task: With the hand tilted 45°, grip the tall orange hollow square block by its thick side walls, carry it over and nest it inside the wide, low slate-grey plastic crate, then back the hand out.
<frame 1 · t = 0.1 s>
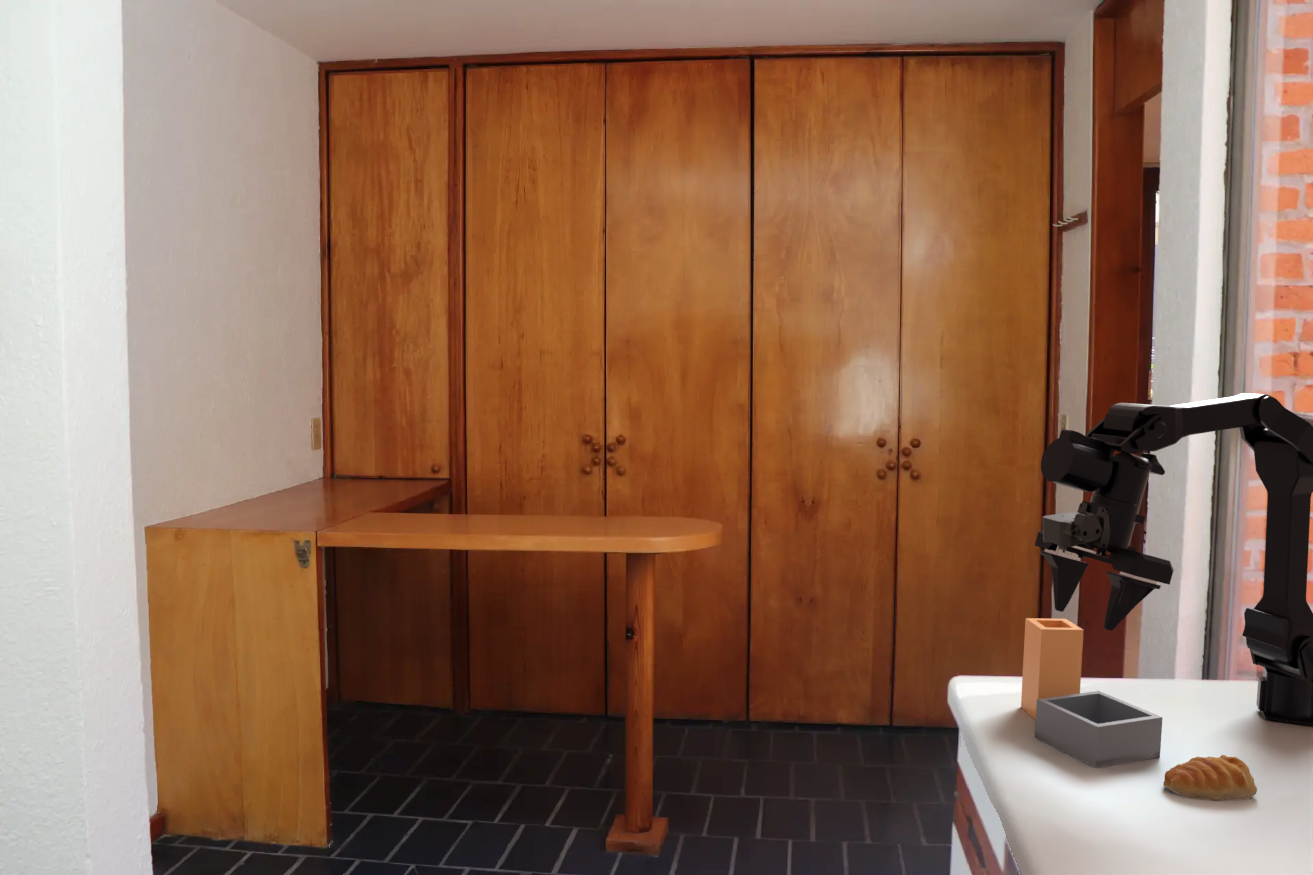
hand: (1082, 620, 131), 15 cm above the counter, tool pointing down, fingers open, 9 cm apart
grey crate: (1095, 746, 130), on the counter
orange hollow square block: (1049, 713, 141), on the counter
pastry: (1210, 793, 118), on the counter
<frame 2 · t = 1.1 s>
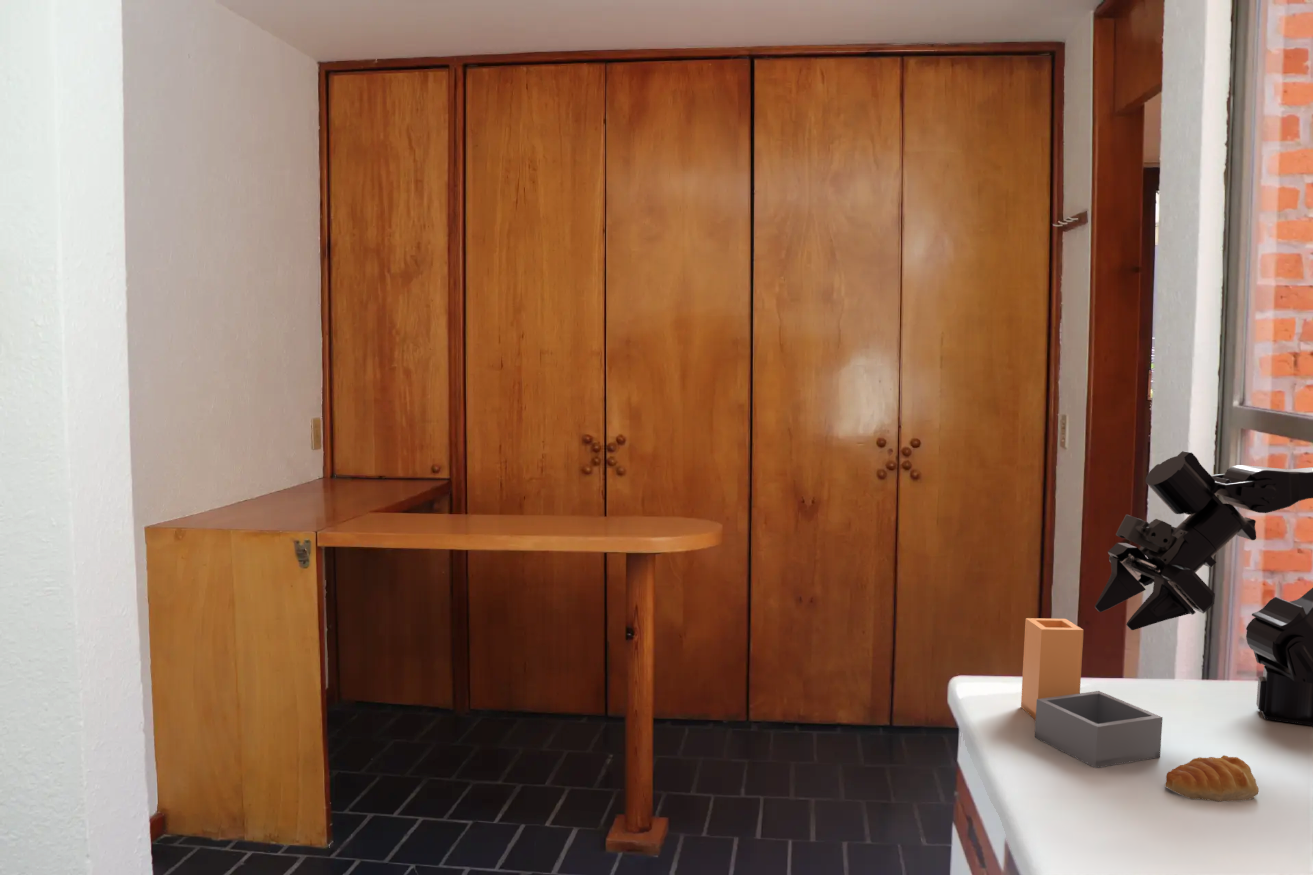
hand: (1112, 618, 140), 13 cm above the counter, tool tilted 45°, fingers open, 9 cm apart
nothing on the counter moved.
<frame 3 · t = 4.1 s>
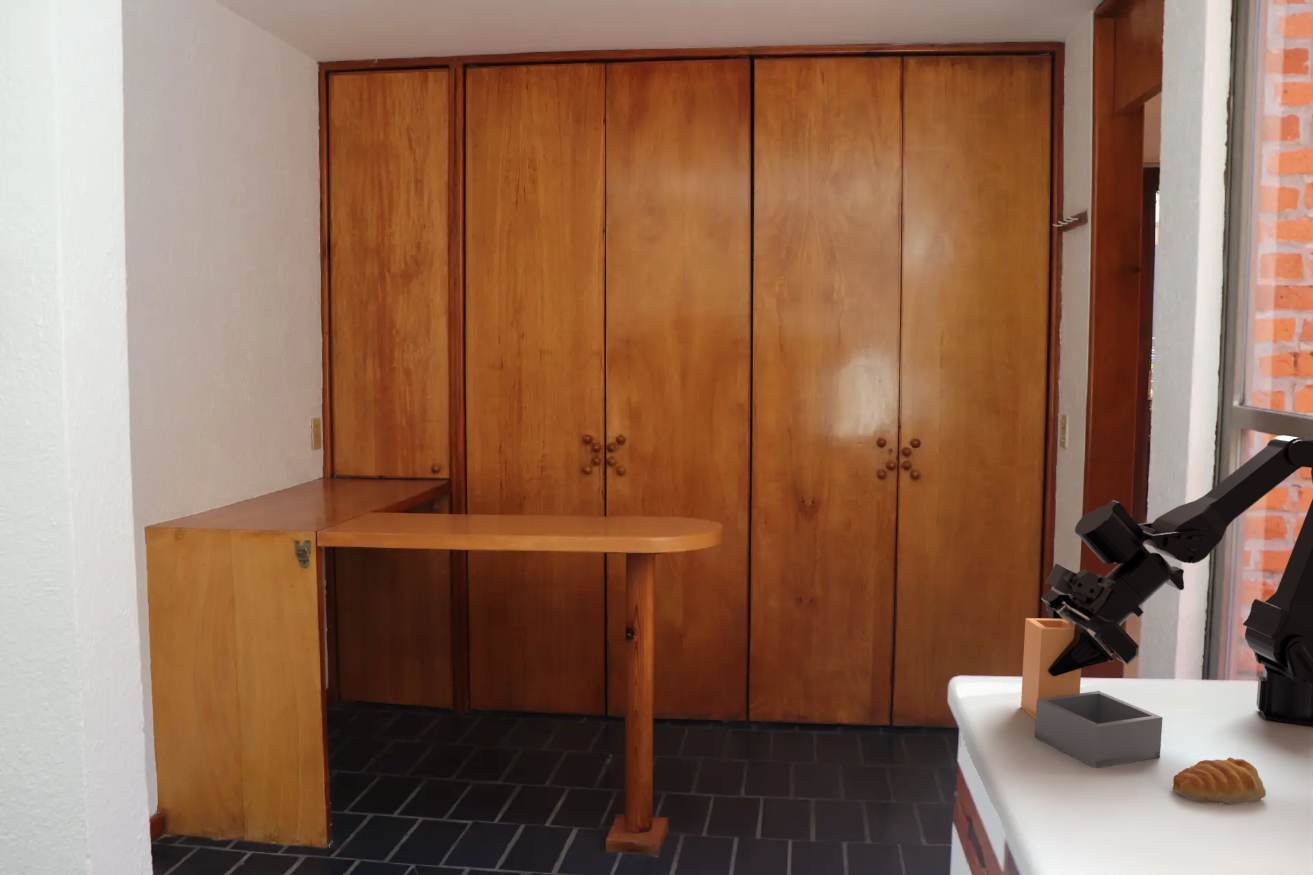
hand: (1041, 666, 141), 7 cm above the counter, tool tilted 45°, fingers closed on orange hollow square block, 6 cm apart
orange hollow square block: (1049, 713, 141), on the counter, touching gripper
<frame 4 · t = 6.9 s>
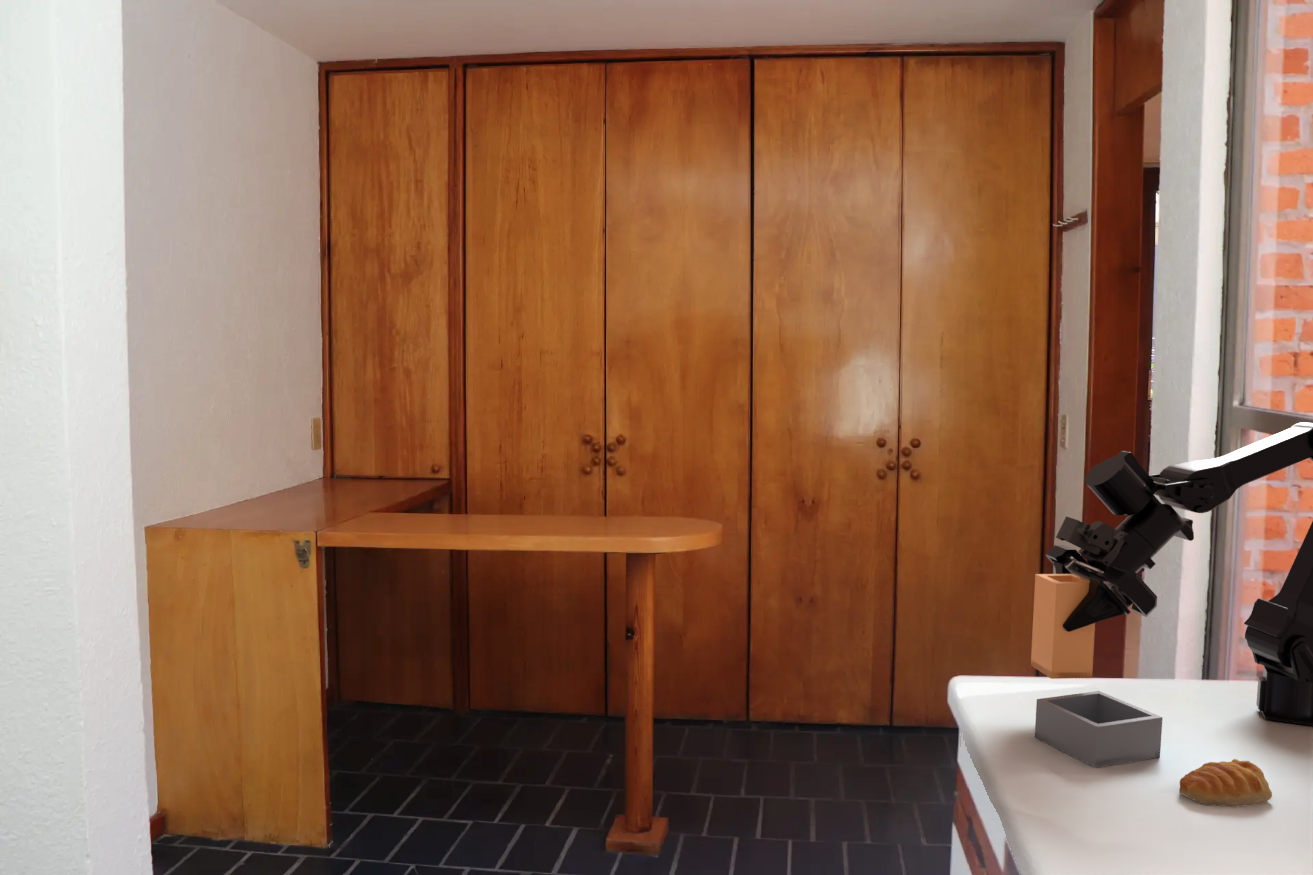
hand: (1053, 622, 137), 13 cm above the counter, tool tilted 45°, fingers closed on orange hollow square block, 6 cm apart
orange hollow square block: (1060, 671, 138), point 7 cm above the counter, touching gripper
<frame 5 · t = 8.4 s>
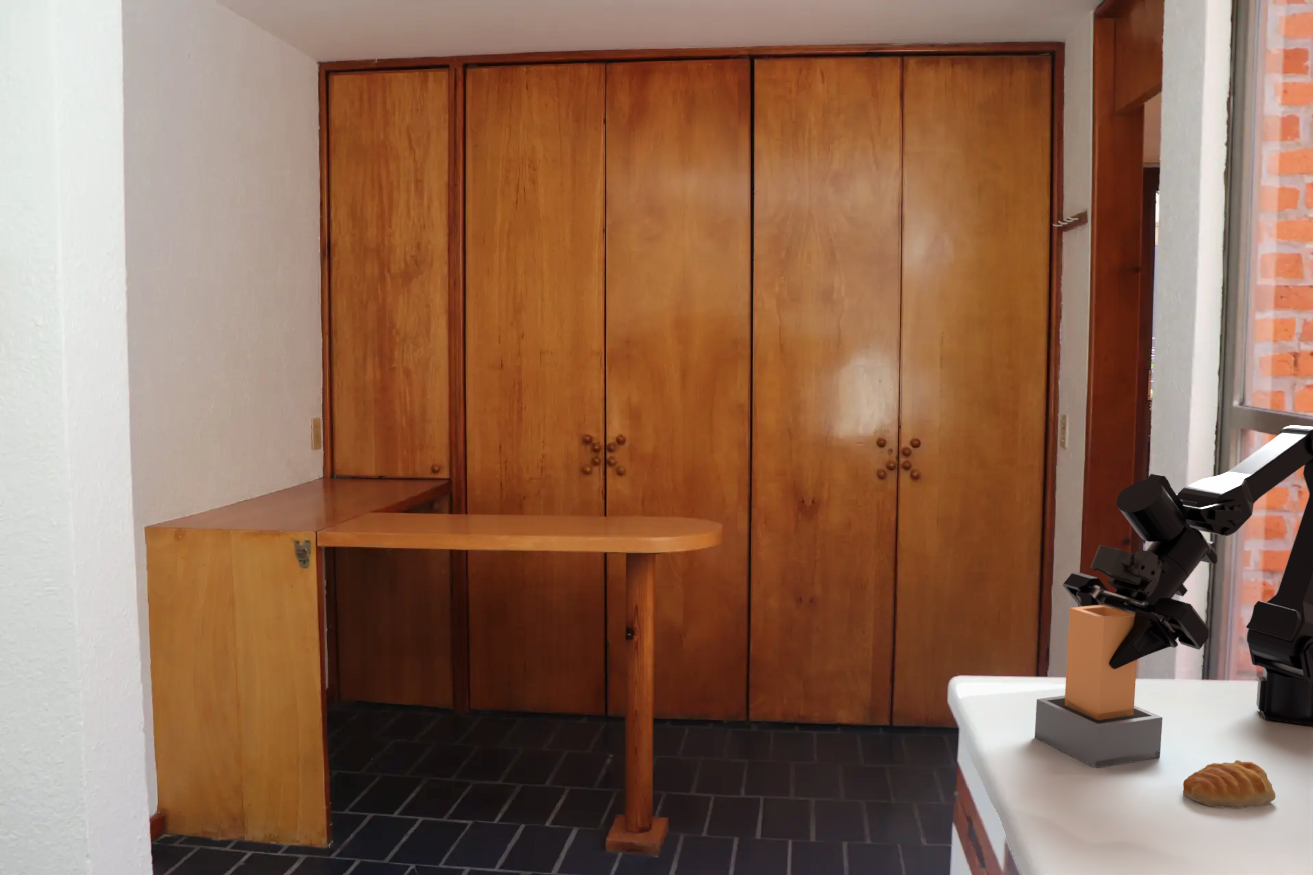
hand: (1092, 659, 129), 11 cm above the counter, tool tilted 45°, fingers closed on orange hollow square block, 6 cm apart
orange hollow square block: (1098, 709, 130), point 5 cm above the counter, touching gripper
when the fingers open (9 cm above the counter, at t = 9.7 s): orange hollow square block drops 1 cm, resting on grey crate.
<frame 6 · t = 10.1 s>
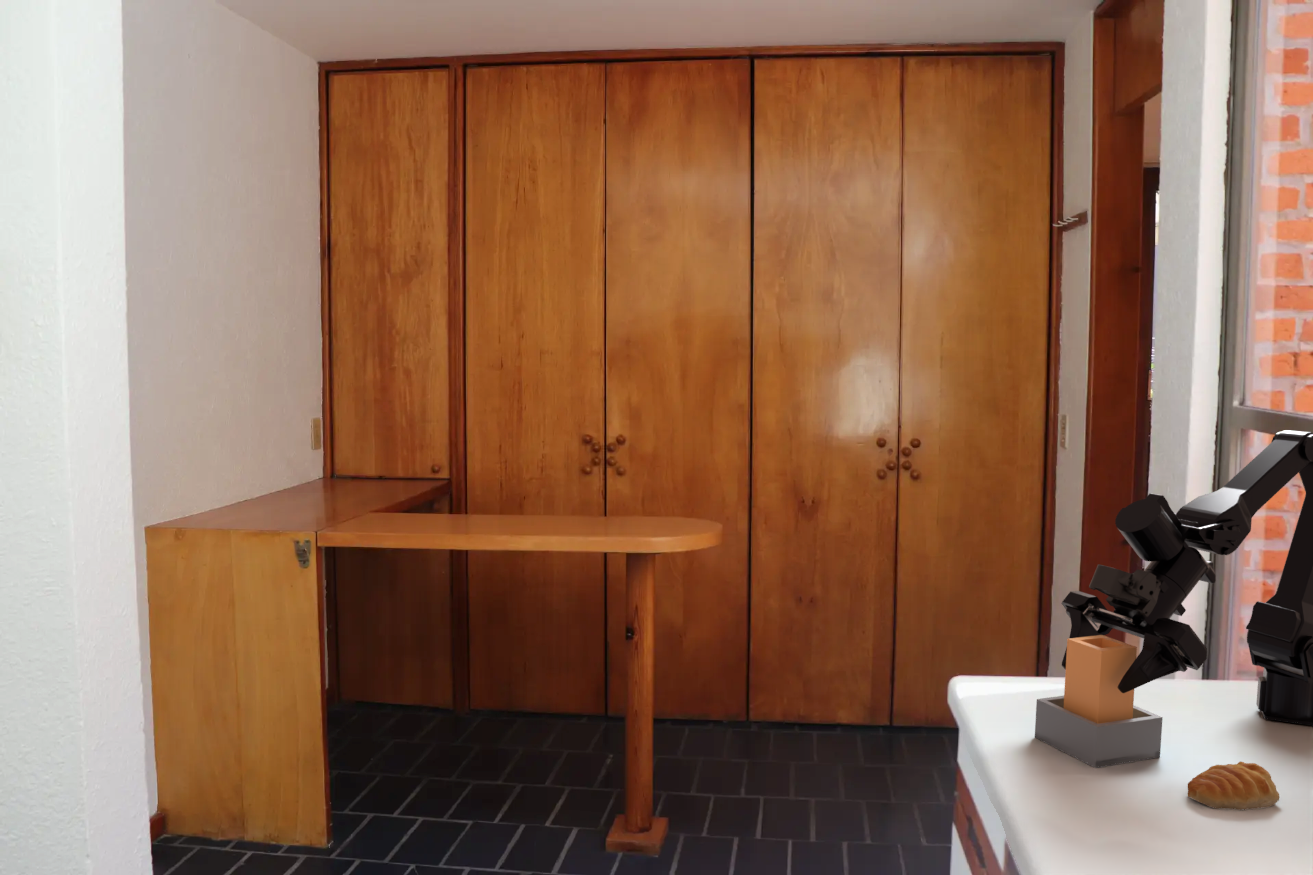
hand: (1091, 678, 129), 9 cm above the counter, tool tilted 45°, fingers open, 9 cm apart
orange hollow square block: (1095, 740, 130), point 1 cm above the counter, touching grey crate
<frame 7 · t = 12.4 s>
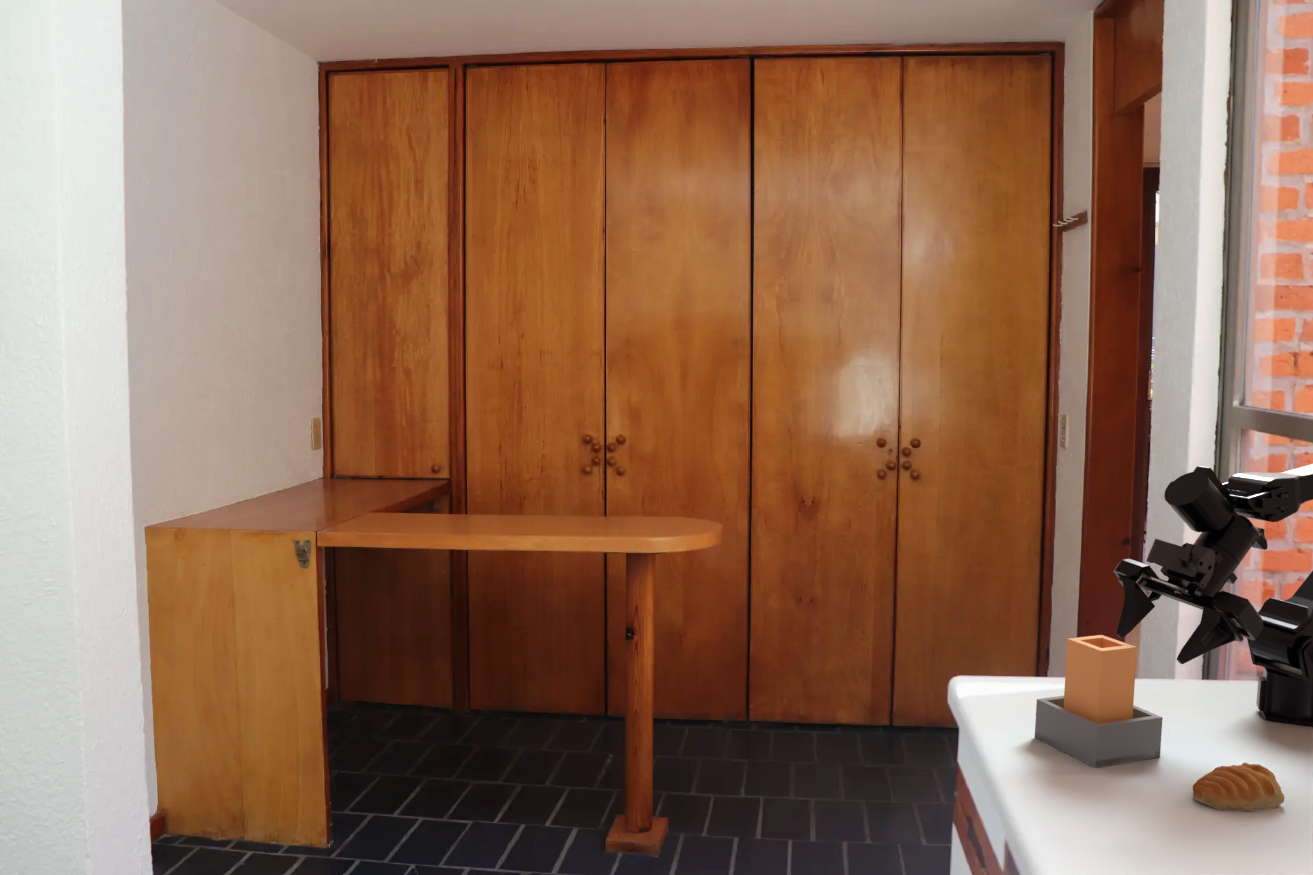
hand: (1148, 648, 133), 11 cm above the counter, tool tilted 40°, fingers open, 9 cm apart
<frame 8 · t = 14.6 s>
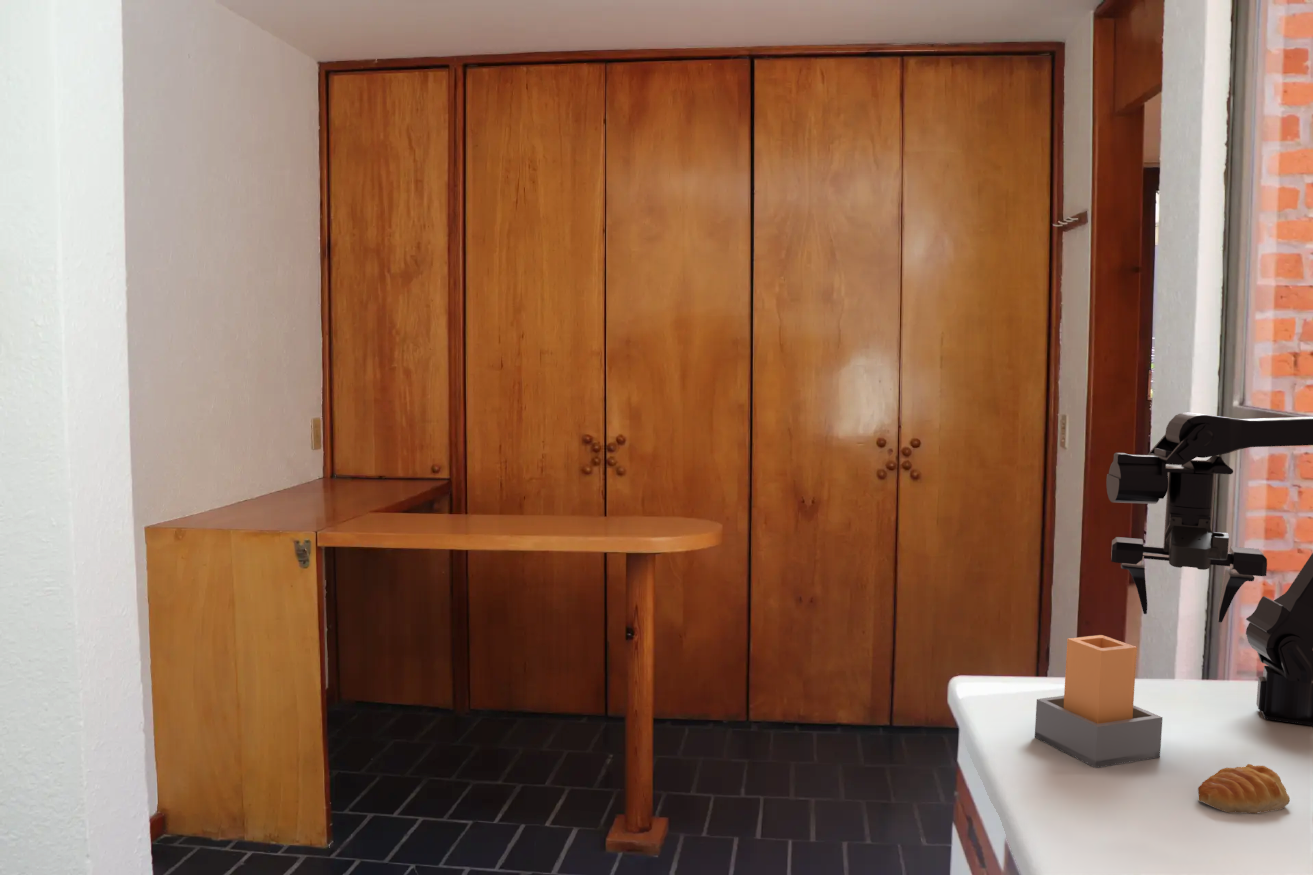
hand: (1181, 617, 143), 13 cm above the counter, tool pointing down, fingers open, 9 cm apart
at the end: orange hollow square block 0.0 cm off-centre on the grey crate, point 0.8 cm above the grey crate's base; orange hollow square block tilted 0°; the gripper is holding nothing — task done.
